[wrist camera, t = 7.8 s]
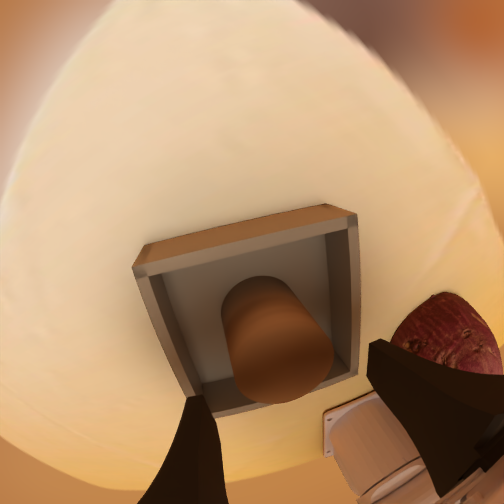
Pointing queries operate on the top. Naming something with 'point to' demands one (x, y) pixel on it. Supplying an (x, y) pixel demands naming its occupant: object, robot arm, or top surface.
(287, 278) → the grey bin
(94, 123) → the top surface
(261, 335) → the walnut cylinder
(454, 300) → the vegetable
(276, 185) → the top surface
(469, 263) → the top surface
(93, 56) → the top surface
